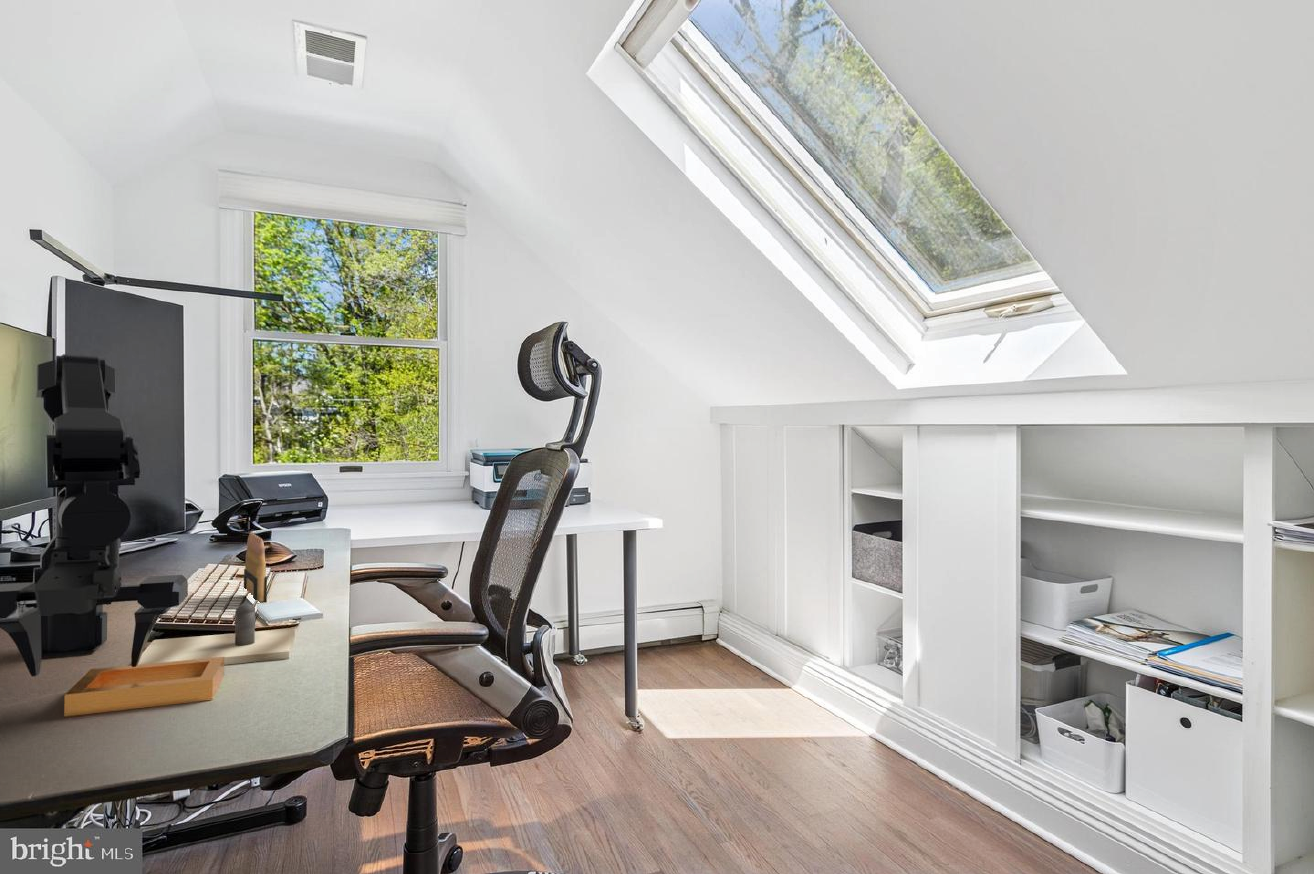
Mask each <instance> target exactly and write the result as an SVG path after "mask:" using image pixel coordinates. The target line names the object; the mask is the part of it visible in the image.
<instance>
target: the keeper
mask: <svg viewBox="0 0 1314 874" xmlns="http://www.w3.org/2000/svg"><path fill="white" fill-rule="evenodd" d="M234 619H235V622H234V623H235V624H234V625H235V627H234V628H235V629H234V633H224V634H223V633H222V634H212V635H210V634H208V635H200V636H187V637H184V636H183V637H173V638H163V639H162V638H161V639H154V640H152V642H151V643H150V644H148V646H147V647H145V648H144V650H143V653H142V655H141V658H140V660H139V663H138V665H141V664H152V663H162V662H173V661H184V660H194V659H205V658H216V657H224V666H225V665H227V666H228V665H235V664H236V665H237V664H245V663H247V664H248V663H255V662H266V661H275V660H276V661H279V660H286V659H290V656H291V653H292V648H293V644H294V639H295V637H296V636H295V635H296V629H295V628H282V629H270V630H260V631H259V630H258V631H256V629H255V628H256V613H255V608H254V606H253V605H252V604H251V603H250V602H243V603H242V604H239V605H238V606H237V608H236V610H235V618H234Z"/></svg>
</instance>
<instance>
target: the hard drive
mask: <svg viewBox="0 0 1314 874" xmlns="http://www.w3.org/2000/svg"><path fill="white" fill-rule="evenodd" d="M257 610H258V614H259V616H261V617H262V618H263V619H264V620H265V621H267V622H268V623H277V622H283V621H289V620H297V621H298V622H304V621H311V620H318V619H323V618H324V613H323V612H322V611H320V609H317V608H316V607H315V606H314V605H312V604H311V603H309V602H308V600H305V598H302V597H297V598H290V599H282V600H275V601H274V600H273V601H267V602H265V603H257ZM259 616H258V617H259Z"/></svg>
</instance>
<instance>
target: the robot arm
mask: <svg viewBox="0 0 1314 874" xmlns="http://www.w3.org/2000/svg"><path fill="white" fill-rule="evenodd" d="M116 374H117V373H116V369H115V368H114V367H112V366H109V365H108V364H106V360H105V358H100V357H99V356H93V355H82V354H81V355H80V354H78V355H77V354H68V353H67V354H65V353H64V354H62V355H56V356H55V359H54V360H53V359H52V360H49V361H46V362H42V363H39V364H37V366H36V371H35V398H37V399H39V398H40V399H42V401H41V402H42V403H41V407H42V408H41V410H42V412H43V414H44V415H45V416H46V417H47V419H48V421H49V422H50V423H51V424H52V425H53V434H52V435H51V434H49V435H48V434H46V435H45V450H44V451H45V453H44V454H45V457H44V458H45V478H46V479H45V483H46V484H45V485H46V488H47V489H52V488H53V489H55V513H54V514H55V515H54V516H55V519H54V522H55V523H54V525H55V526H54V528H55V529H54V530H55V532H54V536H53V537H52V539H50V541H49V542H48V543H47V545H46V547H45V548H43V550H42V552H41V553H40V561H39V563H40V565H39V567H34V568H33V576H32V577H33V578H32V579H33V580H32V582H17V583H15V582H14V583H0V629H1V630H3V631H4V632H5V633H7V634H8V636H9V637H10V638H11V640H12V641H13V643H14V644H15V645H16V647H17V649H18V652H19V653H20V656H21V658H22V660H23V661H24V664H25V666H26V668H27V670H28V672H29V674H30V676H31V677H33V678H34V677H37V676H38V675H39V674H40V672H41V665H42V658H51V657H52V658H53V657H62V656H63V657H65V656H74V655H75V656H76V655H88V654H93V653H95V652H96V651H97V650H98V649H99V648H101V646H103V645H104V643H106V642H107V640H108V612H107V611H104V607H103V606H105V605H106V606H107V605H109V606H110V605H112V603H120V602H122V603H123V602H134V601H135V602H136V601H137V603H138V605H140V607H139V608H138V609H137V610H136V611H135V612H134V613H133V614H134V615H133V616H134V622H135V625H134V633H133V638H132V647H131V653H130V655H131V656H130V658H131V659H130V661H131V665H132V667H136V666H137V665H138V663H139V660H140V658H141V655H142V653H143V652H144V651H145V649H146V646H147V643H148V640H149V639H150V636H151V633H152V631H153V629H154V627H155V625H156V623H157V621H158V620H159V618H160V616H161V615H165V614H167V613H168V612H169V611H170V609H171V608H174V607H179V606H180V605H181V604H182V603H183V602H184V601H185V599H186V598H188V594H189V592H188V591H189V588H188V587H189V583H188V579H187V578H186V577H185V576H184V575H183V574H171V575H154V576H153V575H151V576H150V575H149V576H148V577H147V578H146V579H144V580H143V581H141V582H140V583H139V584H124V585H122V572H121V570H120V548H122V545H121V544H122V542H121V541H122V539H120V538H121V537H123V536H124V534H125V533H126V532H127V530H128V529H129V526H130V523H131V519H132V518H131V517H132V516H131V510H130V509H129V506H128V505H127V503H126V502H125V501H124V500H123V499H122V498H121V494H120V493H119V486H120V487H124V486H125V487H126V486H135V485H136V479H140V476H141V475H140V474H141V469H140V460H139V453H138V451H139V450H138V446H137V444H135V443H134V439H133V438H134V437H132V436H131V435H126V433H125V428H124V424H123V421H122V419H121V418H119V417H116V416H114V415H112V414H111V413H109V412H108V410H109V401H113V400H115V397H116V394H117V388H116V387H117V383H116V381H117V380H116V377H117V375H116ZM123 466H124V469H123ZM124 472H125V474H124ZM124 475H125V476H124ZM54 477H55V479H54Z"/></svg>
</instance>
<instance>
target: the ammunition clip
mask: <svg viewBox="0 0 1314 874" xmlns="http://www.w3.org/2000/svg"><path fill="white" fill-rule="evenodd" d="M248 534H249V535H248V538H247V543H246V552H245V553H246V554H245V562H244V563H245V564H244V565H245V566H244V569H243V589H244V588H245V589H247V591H249V593H251V595H253V598H254V599H255V600H258V601H259V602H260V603H265V602H268V601H267V599H268V596H267V595H268V582H267V581H268V578H267V575H266V574H267V572H266V571H267V570H266V569H267V565H266V564H267V562H266V553H265V550H266V549H265V544H264V540H263V539H262V537H260V536H259V535H256V534H255V533H253V532H252V531H250V532H249V533H248Z"/></svg>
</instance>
